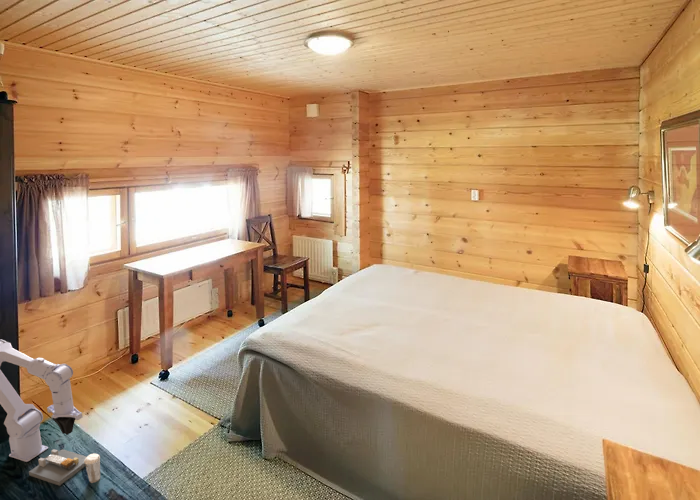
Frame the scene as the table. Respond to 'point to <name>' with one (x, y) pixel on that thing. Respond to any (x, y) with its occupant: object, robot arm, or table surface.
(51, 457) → the latch bar
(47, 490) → the table surface
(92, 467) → the milkshake
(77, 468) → the base board
